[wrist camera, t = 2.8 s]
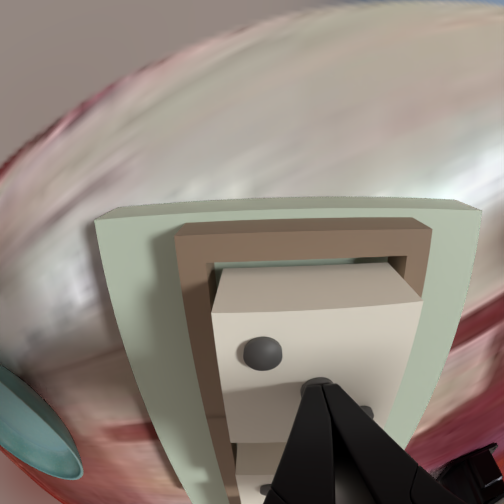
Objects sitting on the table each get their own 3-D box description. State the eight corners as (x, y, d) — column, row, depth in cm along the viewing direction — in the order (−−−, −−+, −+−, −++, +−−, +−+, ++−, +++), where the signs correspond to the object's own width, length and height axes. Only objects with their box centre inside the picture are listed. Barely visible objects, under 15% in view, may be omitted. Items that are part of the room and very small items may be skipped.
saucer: (6, 434, 20) (-3, 450, 18) (-58, 323, 15) (-74, 338, 13) (116, 475, 20) (108, 497, 17) (48, 354, 15) (27, 381, 12)
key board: (369, 478, 18) (377, 510, 15) (197, 487, 19) (192, 520, 16) (454, 199, 11) (504, 220, 8) (117, 207, 11) (73, 232, 8)
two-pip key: (339, 470, 13) (346, 511, 10) (245, 477, 13) (243, 518, 10) (357, 417, 11) (371, 467, 8) (238, 425, 11) (235, 479, 9)
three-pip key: (365, 382, 11) (384, 434, 8) (235, 390, 11) (229, 447, 8) (387, 262, 9) (426, 305, 6) (223, 268, 9) (209, 317, 6)
